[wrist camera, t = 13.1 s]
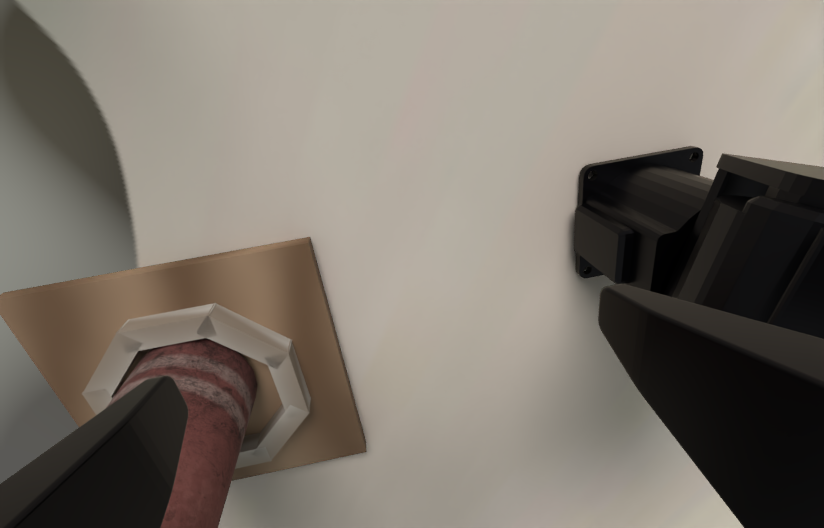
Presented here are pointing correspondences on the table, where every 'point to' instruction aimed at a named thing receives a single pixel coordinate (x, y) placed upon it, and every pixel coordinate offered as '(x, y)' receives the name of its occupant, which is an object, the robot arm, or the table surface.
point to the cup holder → (196, 319)
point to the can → (202, 423)
